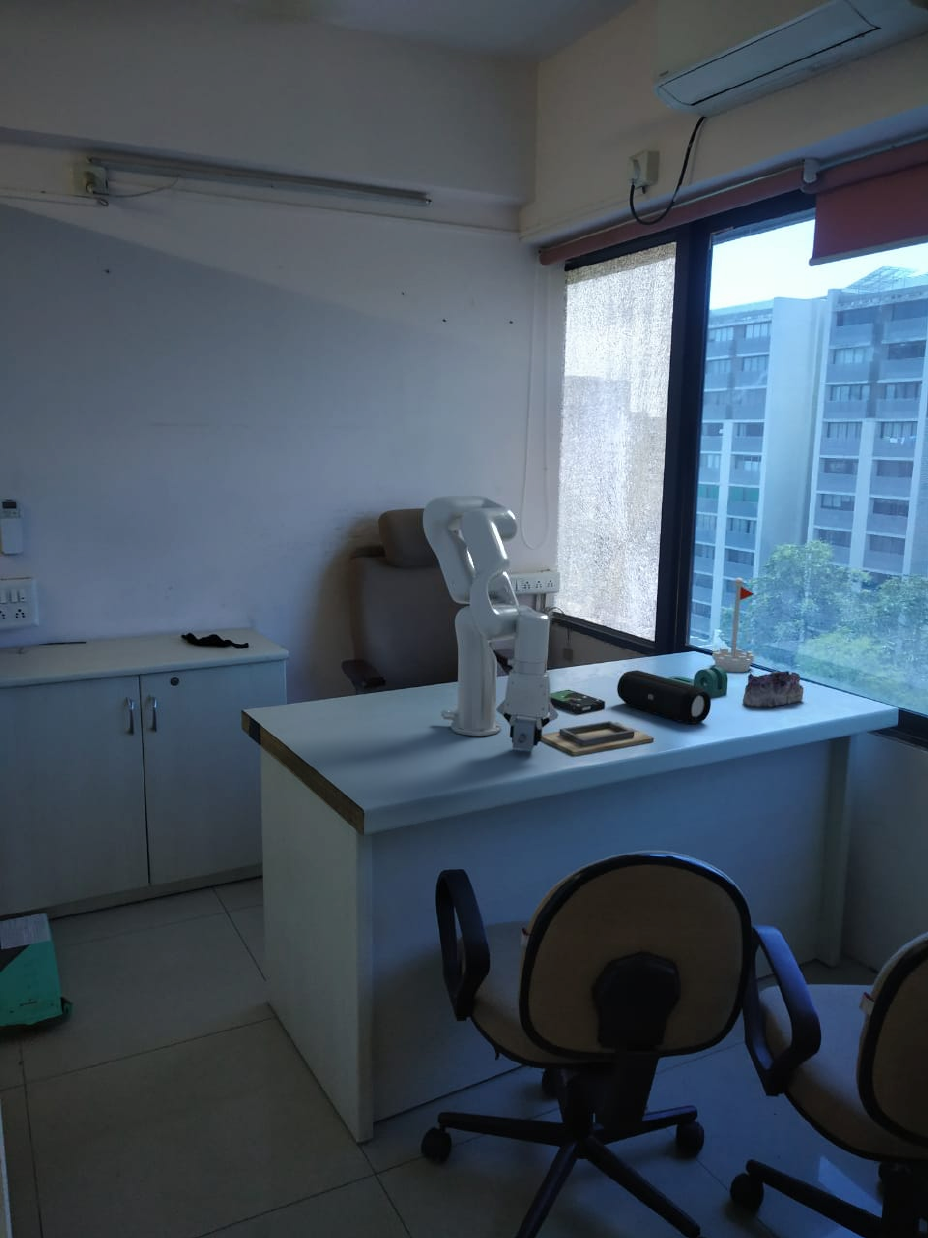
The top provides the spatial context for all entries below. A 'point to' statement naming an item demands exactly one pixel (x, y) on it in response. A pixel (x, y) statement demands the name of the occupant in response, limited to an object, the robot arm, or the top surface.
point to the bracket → (708, 681)
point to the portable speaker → (664, 696)
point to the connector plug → (524, 733)
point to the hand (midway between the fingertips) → (525, 741)
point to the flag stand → (735, 640)
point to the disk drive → (576, 702)
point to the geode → (773, 690)
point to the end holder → (595, 738)
